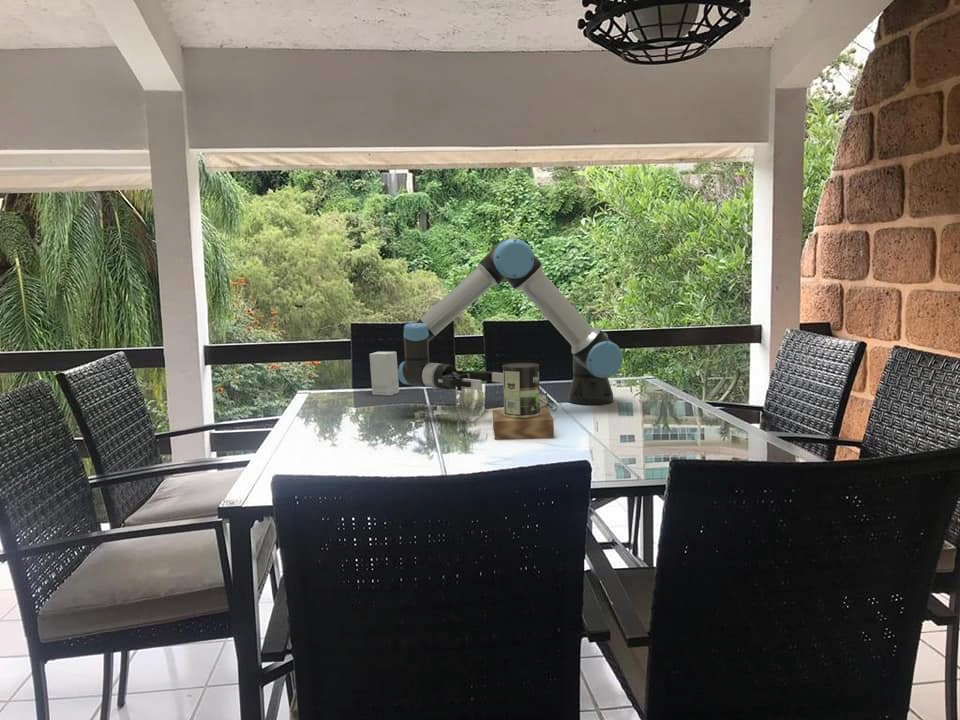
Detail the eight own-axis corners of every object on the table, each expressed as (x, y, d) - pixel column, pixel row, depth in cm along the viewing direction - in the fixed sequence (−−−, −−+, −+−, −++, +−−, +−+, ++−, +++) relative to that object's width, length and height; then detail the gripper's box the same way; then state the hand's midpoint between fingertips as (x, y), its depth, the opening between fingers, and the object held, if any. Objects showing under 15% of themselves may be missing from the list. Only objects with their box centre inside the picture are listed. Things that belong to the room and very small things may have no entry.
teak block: (547, 425, 228) (547, 408, 227) (553, 437, 212) (553, 419, 211) (493, 426, 228) (492, 409, 227) (494, 439, 212) (494, 421, 211)
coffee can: (542, 411, 223) (541, 362, 221) (537, 418, 213) (536, 367, 211) (506, 410, 225) (505, 362, 223) (500, 418, 215) (499, 367, 213)
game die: (543, 429, 239) (562, 402, 239) (536, 425, 231) (556, 397, 232) (520, 413, 243) (539, 387, 243) (513, 408, 235) (532, 381, 235)
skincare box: (399, 393, 289) (398, 351, 287) (390, 396, 283) (388, 353, 281) (380, 392, 293) (378, 350, 290) (370, 395, 287) (368, 353, 285)
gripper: (467, 382, 247) (521, 388, 234) (412, 394, 228) (468, 401, 214) (466, 359, 246) (521, 363, 233) (411, 369, 227) (467, 374, 214)
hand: (496, 381), depth 224 cm, fingers open, 13 cm apart
